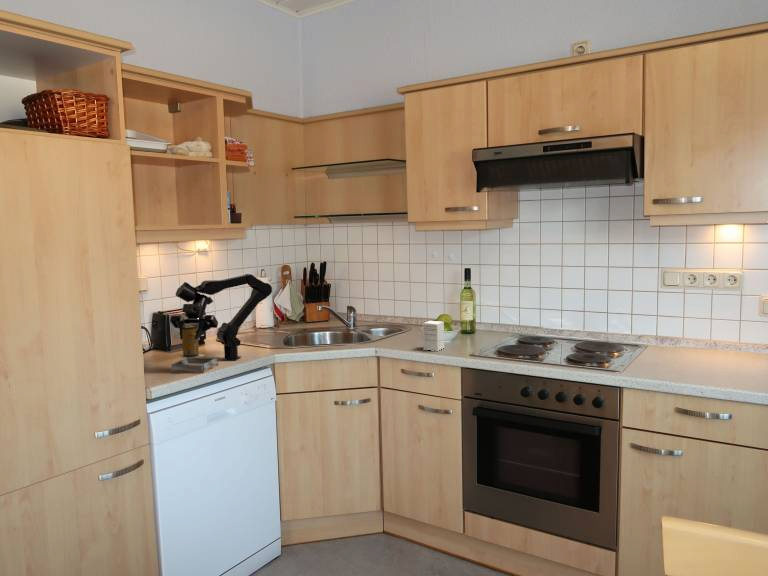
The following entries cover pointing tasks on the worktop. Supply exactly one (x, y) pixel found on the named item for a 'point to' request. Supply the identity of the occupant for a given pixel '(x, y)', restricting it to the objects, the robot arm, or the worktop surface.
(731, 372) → the worktop surface
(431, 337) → the supplement box
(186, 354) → the condiment
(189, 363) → the grey square frame
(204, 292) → the robot arm
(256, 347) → the worktop surface
